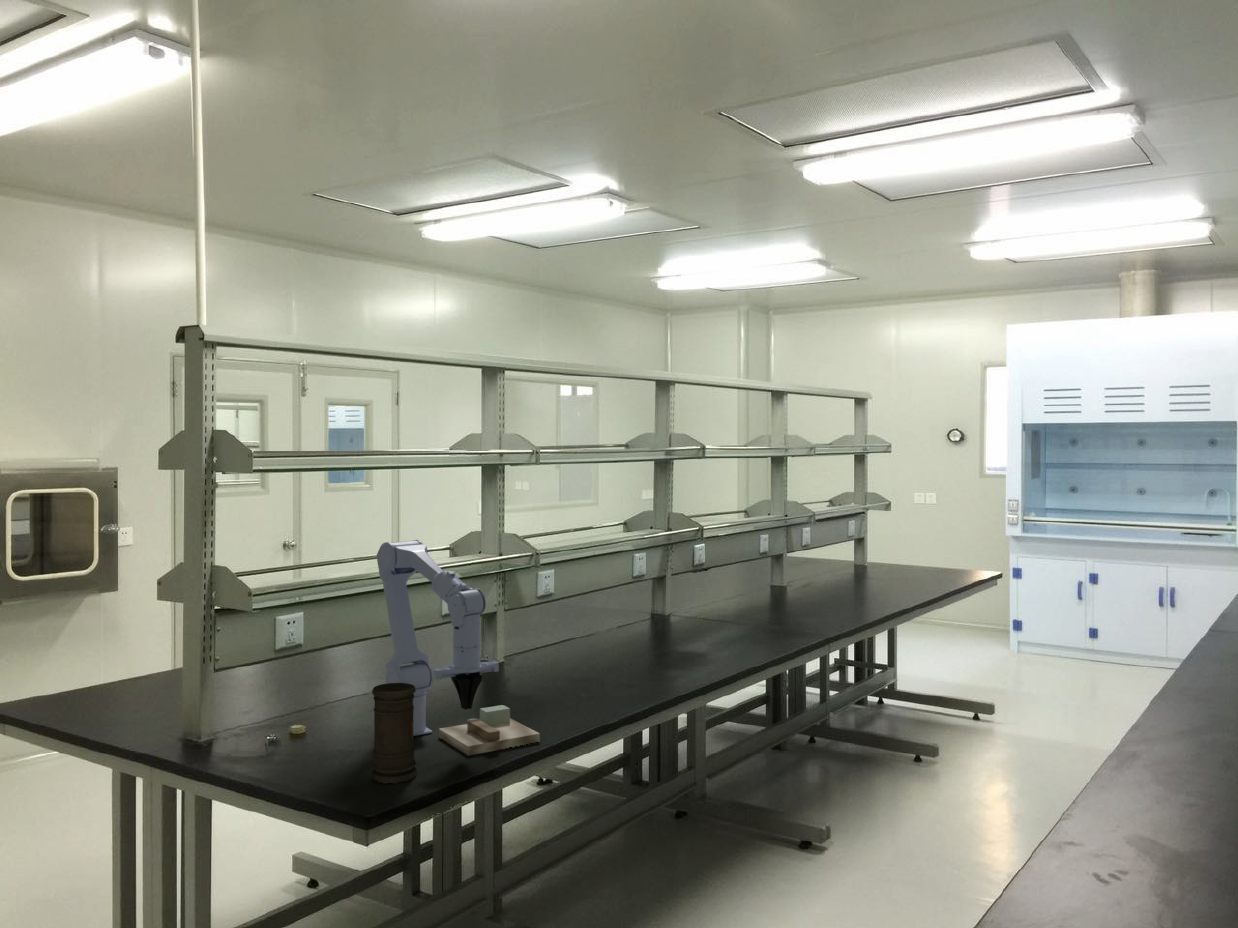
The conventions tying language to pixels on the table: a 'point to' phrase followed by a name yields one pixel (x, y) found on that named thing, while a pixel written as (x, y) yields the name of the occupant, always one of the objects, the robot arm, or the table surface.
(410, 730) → the container
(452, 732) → the stool seat
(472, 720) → the stool leg
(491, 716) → the block
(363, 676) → the table surface
